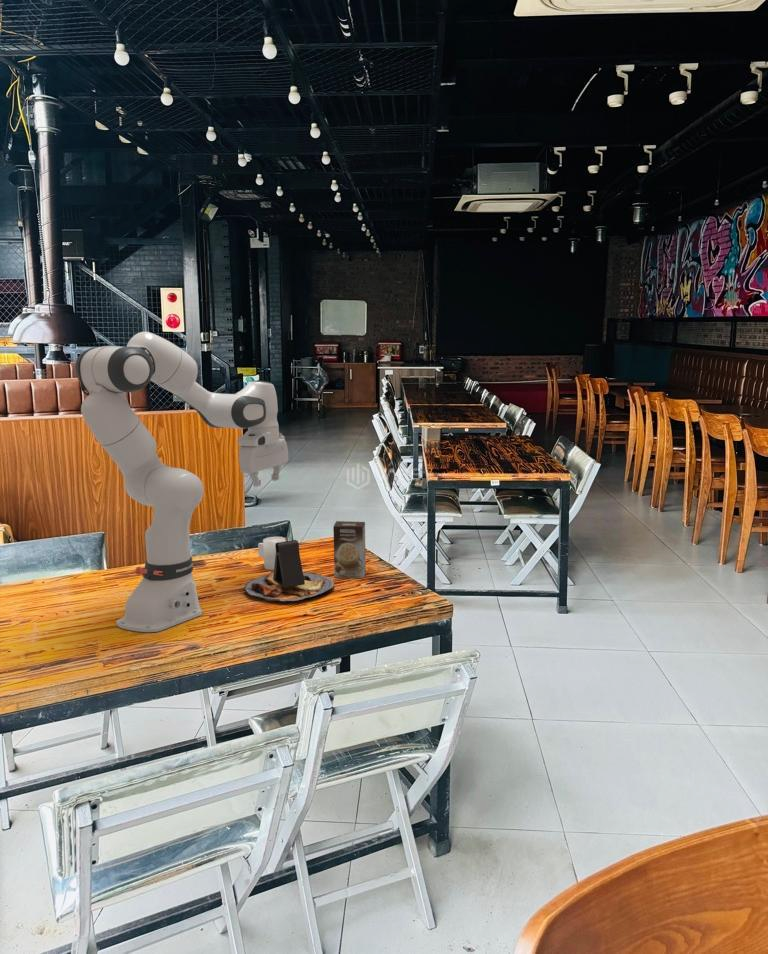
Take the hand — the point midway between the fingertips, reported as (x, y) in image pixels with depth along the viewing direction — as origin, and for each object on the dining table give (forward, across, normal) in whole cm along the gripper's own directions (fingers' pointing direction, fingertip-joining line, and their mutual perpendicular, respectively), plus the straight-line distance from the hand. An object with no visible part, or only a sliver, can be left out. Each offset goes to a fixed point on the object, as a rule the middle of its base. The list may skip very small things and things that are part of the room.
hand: (266, 483), depth 223 cm
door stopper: (+27, +8, +11) cm, 30 cm away
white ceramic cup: (+29, -10, -7) cm, 32 cm away
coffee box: (+30, -12, +21) cm, 38 cm away
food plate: (+30, +7, +11) cm, 33 cm away
